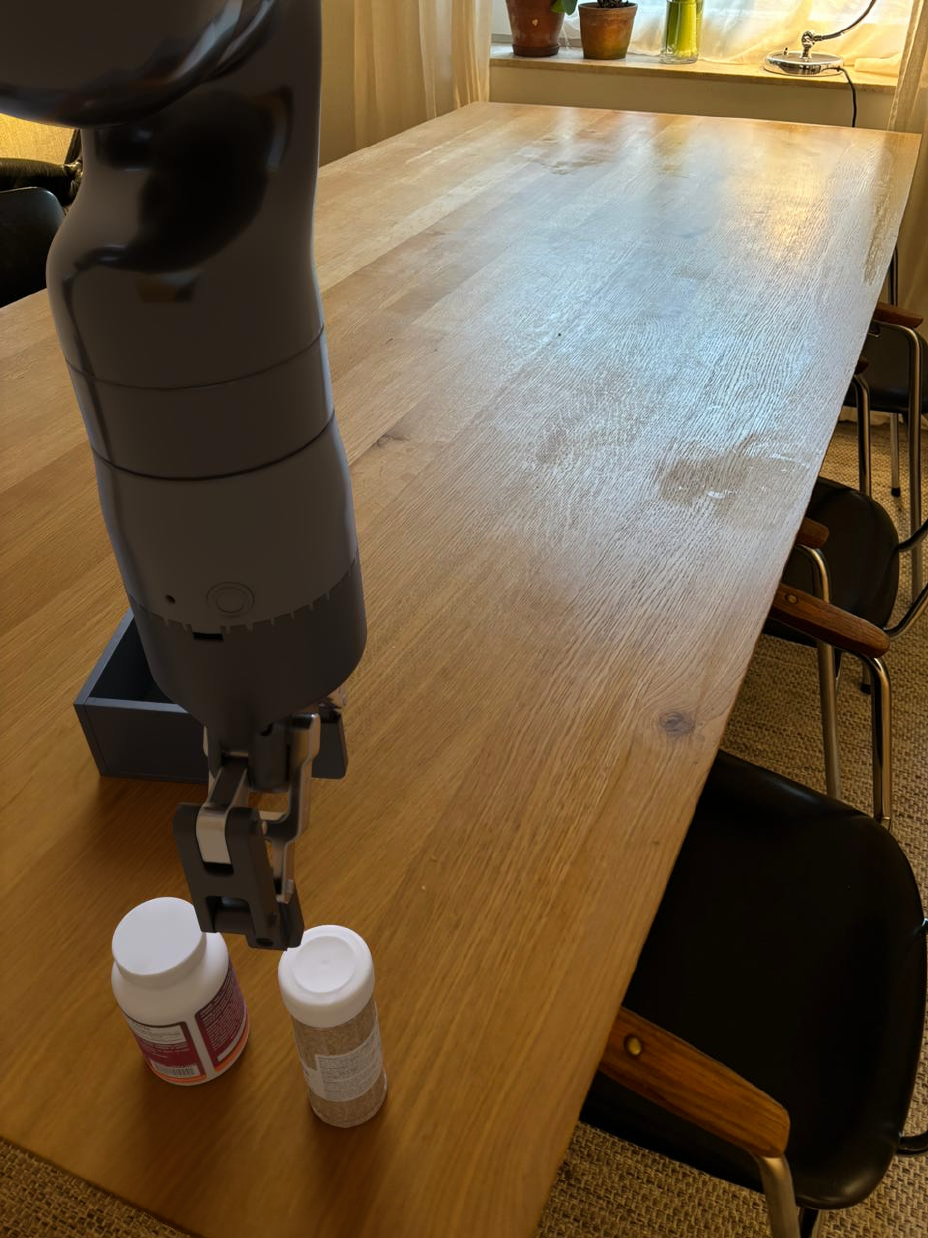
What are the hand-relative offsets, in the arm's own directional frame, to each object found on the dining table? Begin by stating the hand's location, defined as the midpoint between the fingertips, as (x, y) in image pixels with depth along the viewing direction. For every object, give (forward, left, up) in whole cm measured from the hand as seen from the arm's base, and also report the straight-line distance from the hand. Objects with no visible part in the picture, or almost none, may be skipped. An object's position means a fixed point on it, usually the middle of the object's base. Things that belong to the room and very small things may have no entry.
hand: (302, 850), depth 42 cm
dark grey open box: (-17, +27, -22) cm, 38 cm away
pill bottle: (-9, +2, -22) cm, 24 cm away
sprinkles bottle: (0, 0, -22) cm, 22 cm away
